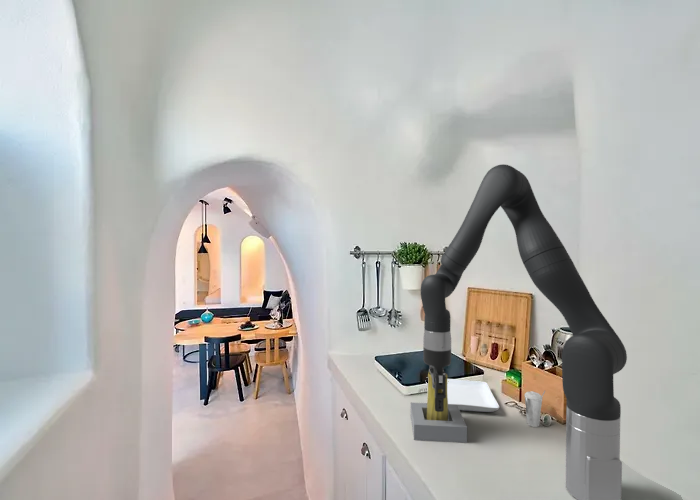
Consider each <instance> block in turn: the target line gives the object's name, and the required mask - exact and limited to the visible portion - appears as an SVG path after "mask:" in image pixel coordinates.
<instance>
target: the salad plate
mask: <svg viewBox="0 0 700 500" xmlns="http://www.w3.org/2000/svg"><path fill="white" fill-rule="evenodd" d="M447 380H449V382H448V384H447V397H448V404H455V405H457V406H458V408H459V410H460V411H467V412H479V413H480V412H481V413H482V412H483V413H490V412H491V413H492V412H495V411H498V410H499V409H500V405H499V403H498V401H497V399H496V398H495V396H494V394H493V392H492V390H491V388H490V386H489V383H487V382H486V381H479V380H468V379H455V378H447ZM425 383H426V390H427V395H426V396H427V397H428V383H427V382H426V381H425ZM427 397H426V398H427Z"/></svg>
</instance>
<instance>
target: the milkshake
mask: <svg viewBox="0 0 700 500" xmlns="http://www.w3.org/2000/svg"><path fill="white" fill-rule="evenodd" d="M545 392H546V390H544V391H543V392H542V394H540V393H539V392H536V391H532V390H531V391H526V392H525V393H524V402H525V405H524V406H525V417H526V418H525V419H526V424H527V425H528V426H529V427H532V428H538V427H540V422H541V409H542V403H543V396H544V395H545Z"/></svg>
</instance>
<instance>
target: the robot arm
mask: <svg viewBox="0 0 700 500" xmlns="http://www.w3.org/2000/svg"><path fill="white" fill-rule="evenodd" d="M500 207H501V209H502V210H503V212H504V213H505V215H506V216H507V218H508V219H509V221H510V223H511V225H512V227H513V229H514V230H513V231H514V233H515V237H516V238H515V239H516V245H517V249H518V254H519V257H520V259H521V261H522V263H523V265H524V268H525V270H526V271H527V273H528V275H529V277H530V279H531V282H532V283H533V284H534V286H535V287H536V288H537V289H538V290H539V292H540V293H541V294H542V295H543V296H544V297H545V298H546V299H547V300H548V301H549V302H551V304H553V306H555V308H556V309H557V310H558V311H559V312H560V314H561V315H562V317H563V318H564V320H565V321H566V324H567V325H568V327H569V328H568V329H570V332H571V334H572V336H570V337H569V338H568V339H567V340H566V341H565V342H564V344H563V347H562V351H561V352H562V353H561V374H562V375H561V378H562V390H563V394H564V396H565V399H566V412H565V413H566V414H565V415H566V416H565V417H566V422H565V423H566V424H565V427H566V428H565V488H566V491H568V493H569V494H570V496H572V497H573V498H575V499H576V500H622V482H623V481H622V477H623V474H622V473H623V471H622V470H623V461H622V460H621V459H620V458H621V451H620V450H621V412H622V411H621V410H622V409H621V408H622V407H621V403H620V401H619V399H617V397H615V395H614V393H615V392H614V375H615V374H618V373H619V372H620V371H622V370H623V369H624V367H625V365H626V364H627V360H628V356H627V355H628V354H627V350H626V348H625V347H626V346H625V345H624V344H623V341H622V340H621V338H620V337H619V336H618V335H619V334H617V332H616V331H615V330H614V329H613V327H612V326H611V324H610V323H609V321H608V320H607V319H606V317H605V315H603V313H602V311H601V310H600V309H599V307H598V306H597V304H596V302H595V301H594V298H593V296H592V295H591V293H590V291H589V290H588V287H587V286H586V284H585V282H584V280H583V278H582V277H581V275H580V273H579V271H578V269H577V268H576V265H575V264H574V261H573V260H572V258H571V256H570V254H569V253H568V250H567V249H566V247H565V246H564V244H563V242H562V241H561V239H560V237H559V236H558V234H557V233H556V231H555V230H554V228H553V226H552V225H551V224H550V222H549V221H548V219H547V218H546V217H545V215H544V214H543V211H542V210H541V207H540V205H539V203H538V200H537V198H536V196H535V193H534V191H533V188H532V186H531V184H530V181H529V179H528V178H527V176H526V175H525V174H524V173H522V172H521V171H520V170H518V169H517V168H515V167H514V166H512V165H509V164H497V165H495V166H492V167H491V168H490V169H489V170H488V171H486V174H485V175H484V176H483V178H482V181H480V185H479V187H478V189H477V191H476V194H475V196H474V198H473V200H472V202H471V205H470V207H469V209H468V211H467V213H466V216H465V217H464V219H463V221H462V223H461V225H460V227H459V228H458V231H457V232H456V234H455V236H454V237H453V238H452V240H451V242H450V243H449V244H448V246H447V248H446V249H445V251H444V253H442V255H441V258H440V266H439V268H438V269H437V271H436V273H434V274H429V275H427V276H426V277H425V278H424V279H423V280H422V282H421V285H420V300H421V305H422V308H423V312H424V326H423V327H424V332H423V340H422V341H423V346H422V347H423V353H422V355H423V357H422V358H423V363H424V364H426V366H427V365H428V366H429V368H428V373H429V372H430V375H431V378H432V388H433V389H434V396H435V411H437V412H443V411H444V398H446V375H445V373H446V371H445V369H444V367H448V366H451V364H452V335H451V334H452V333H451V313H450V311H449V309H447V307H446V306H447V305H446V298H448V297H450V296H451V294H453V292H455V290H456V288H457V286H458V284H459V282H460V280H461V278H462V276H463V274H464V272H465V271H466V269H467V268H468V266H470V263H471V262H472V261H473V259H474V257H476V255H477V253H478V251H479V249H480V247H481V244H482V242H483V238H484V236H485V232H486V229H487V227H488V225H489V223H490V221H491V219H492V218H493V216H494V215H495V213H496V212H497V211H498V209H499V208H500ZM434 382H435V384H434ZM438 389H441V390H442V393H438Z"/></svg>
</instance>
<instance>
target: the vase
mask: <svg viewBox="0 0 700 500" xmlns="http://www.w3.org/2000/svg"><path fill="white" fill-rule="evenodd" d="M445 375H446V398H444V411H443V412H437V411H435V396H434V389H433V388H432V378H431V375H430V372H429V371H428V374H427V378H428V397H426V402H427V420H439V421H448V397H447V379H448V373H446V372H445ZM434 384H435V382H434ZM438 393H442V390H441V389H438Z"/></svg>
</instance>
